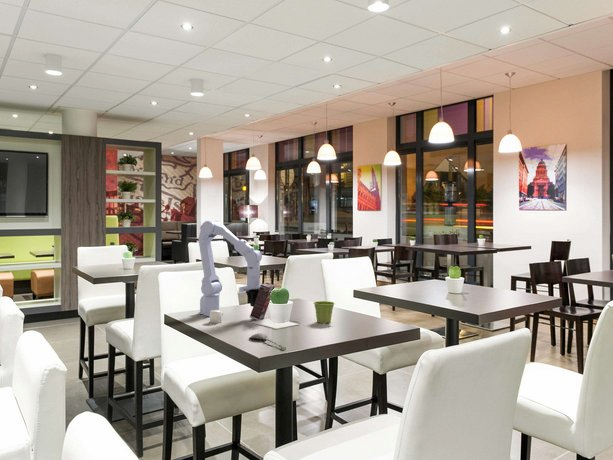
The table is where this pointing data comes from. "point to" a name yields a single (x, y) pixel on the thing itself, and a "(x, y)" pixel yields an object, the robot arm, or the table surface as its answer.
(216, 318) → the white small cube
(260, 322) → the mat
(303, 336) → the table surface
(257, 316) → the supplement box
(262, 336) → the soupspoon
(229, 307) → the table surface
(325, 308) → the plant pot
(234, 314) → the table surface
